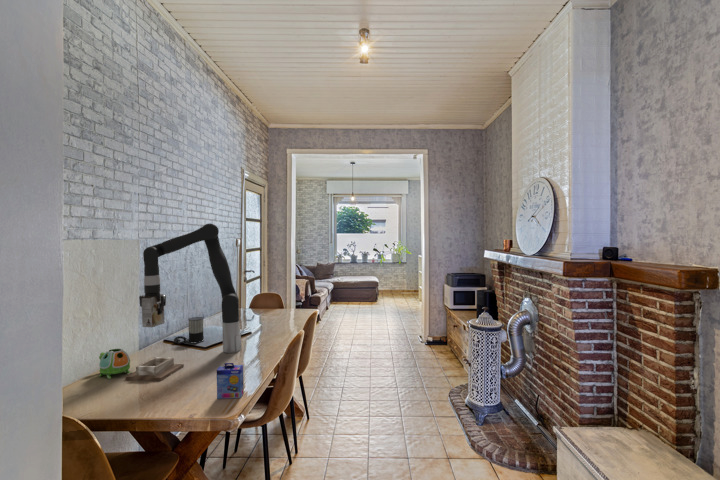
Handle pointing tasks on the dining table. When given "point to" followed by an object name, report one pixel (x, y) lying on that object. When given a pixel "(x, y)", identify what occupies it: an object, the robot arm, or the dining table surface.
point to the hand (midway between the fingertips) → (153, 314)
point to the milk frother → (193, 331)
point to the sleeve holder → (155, 369)
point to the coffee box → (151, 312)
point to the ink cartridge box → (230, 381)
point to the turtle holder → (114, 362)
